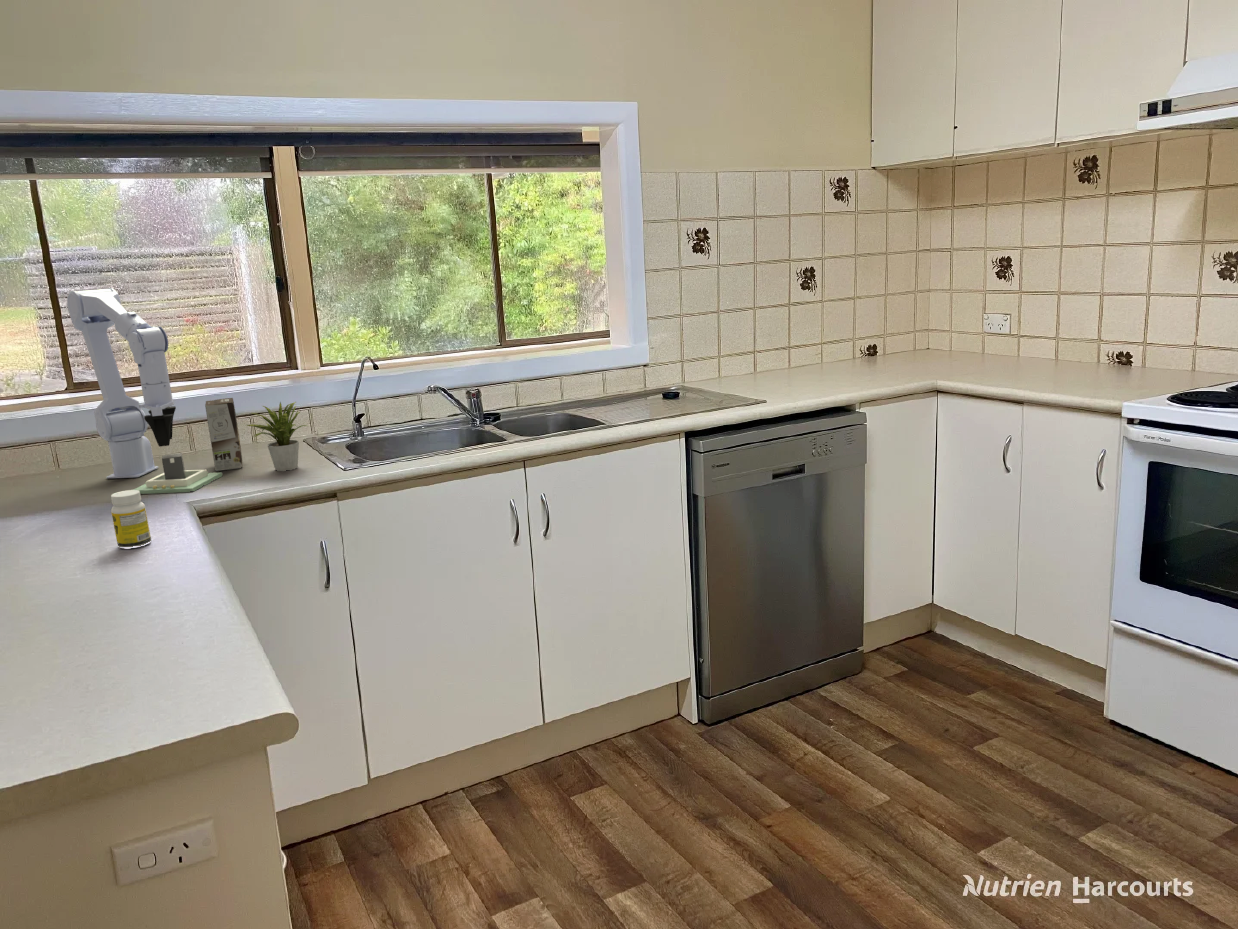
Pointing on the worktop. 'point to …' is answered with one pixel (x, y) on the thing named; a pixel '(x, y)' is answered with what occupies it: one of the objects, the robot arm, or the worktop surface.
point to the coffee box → (224, 434)
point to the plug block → (173, 466)
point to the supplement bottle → (130, 519)
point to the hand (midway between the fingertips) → (165, 442)
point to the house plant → (281, 438)
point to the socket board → (178, 482)
